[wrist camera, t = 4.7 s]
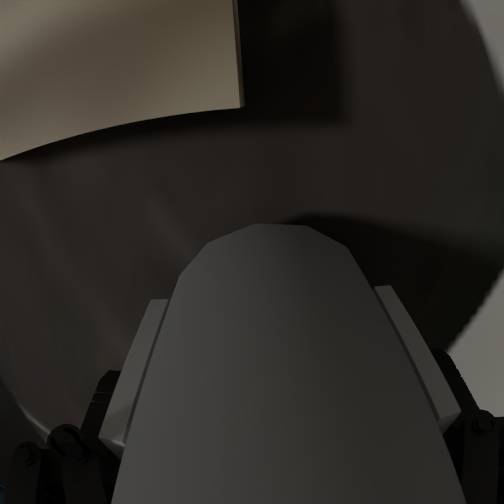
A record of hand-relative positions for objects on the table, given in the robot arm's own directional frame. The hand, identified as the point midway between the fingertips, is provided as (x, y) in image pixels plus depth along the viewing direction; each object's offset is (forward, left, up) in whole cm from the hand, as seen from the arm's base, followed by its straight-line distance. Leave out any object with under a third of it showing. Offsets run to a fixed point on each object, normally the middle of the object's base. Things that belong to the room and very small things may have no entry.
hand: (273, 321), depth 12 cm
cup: (0, 0, -1) cm, 1 cm away
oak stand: (+17, +8, -3) cm, 19 cm away
